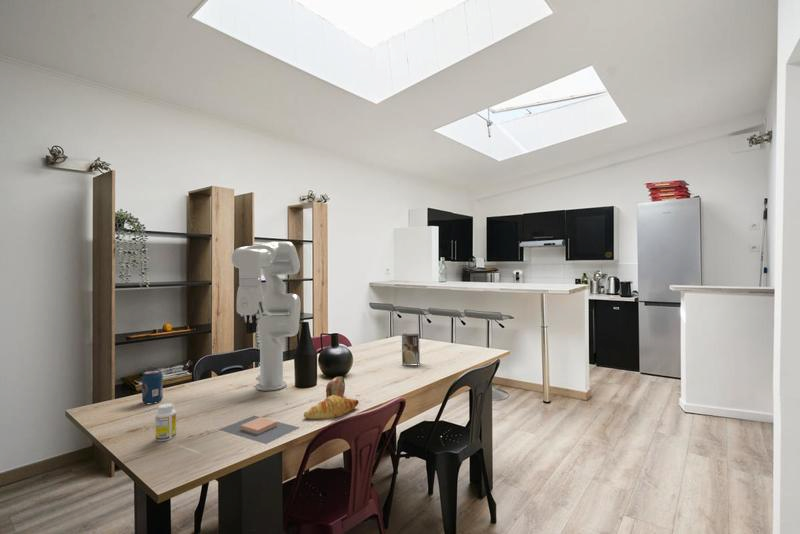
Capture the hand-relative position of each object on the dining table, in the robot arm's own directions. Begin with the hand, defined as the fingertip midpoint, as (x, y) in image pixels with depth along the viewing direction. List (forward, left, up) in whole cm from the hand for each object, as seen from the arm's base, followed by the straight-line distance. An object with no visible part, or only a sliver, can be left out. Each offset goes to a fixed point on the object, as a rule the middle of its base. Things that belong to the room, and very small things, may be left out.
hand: (251, 332), depth 149 cm
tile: (+12, -10, -28) cm, 32 cm away
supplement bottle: (-4, -29, -29) cm, 41 cm away
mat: (+16, -10, -29) cm, 34 cm away
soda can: (-43, -12, -29) cm, 53 cm away
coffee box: (+17, +91, -29) cm, 97 cm away
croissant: (+27, +12, -29) cm, 42 cm away
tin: (+19, +25, -29) cm, 43 cm away
